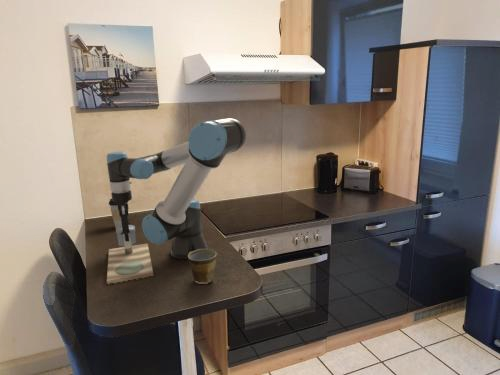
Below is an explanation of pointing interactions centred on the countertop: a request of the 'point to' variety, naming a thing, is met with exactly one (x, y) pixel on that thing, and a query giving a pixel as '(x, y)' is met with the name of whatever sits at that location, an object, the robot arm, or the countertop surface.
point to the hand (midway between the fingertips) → (127, 244)
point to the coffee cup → (115, 213)
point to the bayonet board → (129, 263)
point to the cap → (120, 236)
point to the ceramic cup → (202, 264)
